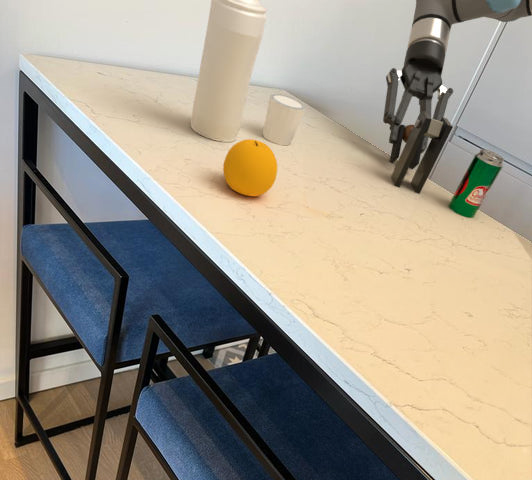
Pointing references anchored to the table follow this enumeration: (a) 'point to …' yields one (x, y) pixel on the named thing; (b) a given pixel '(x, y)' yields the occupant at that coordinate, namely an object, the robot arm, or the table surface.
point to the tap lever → (431, 131)
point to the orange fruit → (250, 168)
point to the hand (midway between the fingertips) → (404, 162)
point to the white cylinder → (282, 119)
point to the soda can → (476, 183)
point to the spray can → (227, 67)
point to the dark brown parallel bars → (429, 156)
